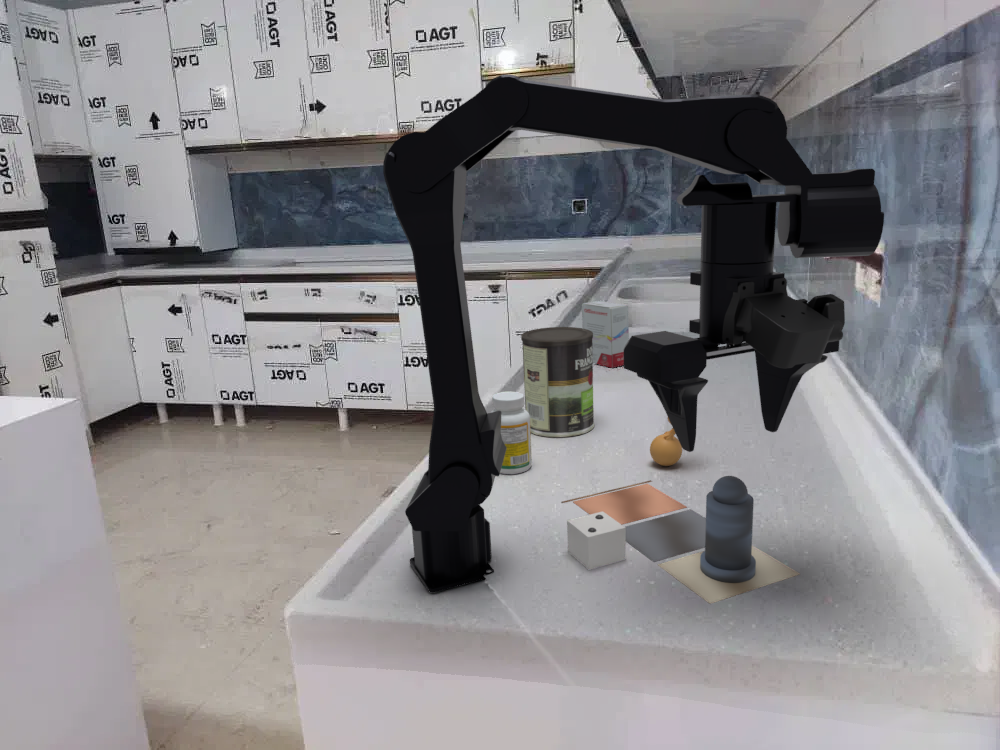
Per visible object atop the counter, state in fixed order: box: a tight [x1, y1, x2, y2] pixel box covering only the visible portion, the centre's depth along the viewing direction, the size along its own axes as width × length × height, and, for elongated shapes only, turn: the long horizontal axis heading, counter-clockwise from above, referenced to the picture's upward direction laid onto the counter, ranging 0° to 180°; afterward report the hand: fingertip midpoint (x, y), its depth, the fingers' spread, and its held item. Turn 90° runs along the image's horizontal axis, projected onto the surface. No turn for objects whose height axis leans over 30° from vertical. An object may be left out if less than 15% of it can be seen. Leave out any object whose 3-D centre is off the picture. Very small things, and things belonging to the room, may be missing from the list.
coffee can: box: [520, 326, 595, 438], centre depth 109 cm, size 10×10×14 cm
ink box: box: [581, 300, 630, 369], centre depth 145 cm, size 9×5×12 cm, turn 34°
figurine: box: [649, 417, 683, 467], centre depth 92 cm, size 8×6×12 cm
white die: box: [566, 511, 627, 571], centre depth 71 cm, size 4×4×4 cm
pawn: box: [700, 475, 756, 583], centre depth 66 cm, size 5×5×9 cm
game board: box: [561, 480, 801, 605], centre depth 75 cm, size 12×25×1 cm, turn 24°
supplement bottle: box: [490, 391, 533, 475], centre depth 95 cm, size 5×5×10 cm
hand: (730, 440), depth 65 cm, fingers open, 9 cm apart
